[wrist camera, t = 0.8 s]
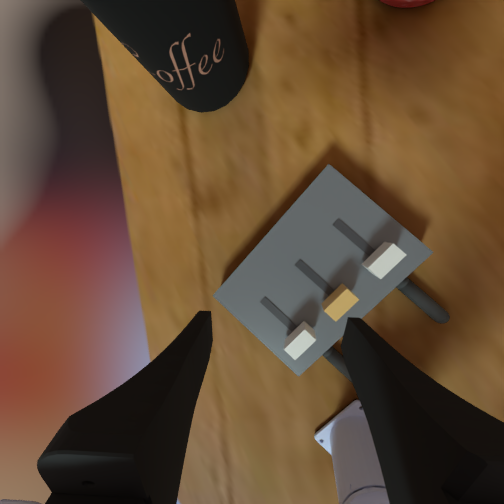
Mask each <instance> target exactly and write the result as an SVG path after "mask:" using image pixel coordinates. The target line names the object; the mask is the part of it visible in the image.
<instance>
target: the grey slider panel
mask: <svg viewBox="0 0 504 504" xmlns="http://www.w3.org/2000/svg"><path fill="white" fill-rule="evenodd" d="M384 242H388V243H393V244H395V245H396V246H397V247H398V248H399V249H401V250H402V251H403V252H404V253H405V254H406V256H405V257H404V258H403V259H402V260H401V261H400V262H399V263H398V264H397V265H396V266H394V267H393V268H392V269H391V270H390V271H389V272H388V273H387V274H386V275H385V276H384V277H383V278H382V279H379V278H378V277H376V276H375V275H373V274H372V273H371V272H370V271H368V270H367V269H366V268H365V267H364V266H363V265H362V263H363V262H364V261H365V260H366V259H367V258H368V257H369V256H370V255H371V254H372V253H373V252H374V251H375V250H376V249H377V248H378V247H379V246H381V245H382V244H383V243H384ZM432 253H433V251H431V250H430V249H429V248H428V247H427V246H425V245H424V244H423V243H422V242H421V241H419V240H418V239H417V238H416V237H415V236H414V235H412V234H411V233H410V232H409V231H408V230H406V229H405V228H404V227H403V226H402V225H401V224H399V223H398V222H397V221H396V220H395V219H393V218H392V217H391V216H390V215H389V214H388V213H386V212H385V211H384V210H383V209H382V208H380V207H379V206H378V205H377V204H376V203H375V202H373V201H372V200H371V199H370V198H369V197H367V196H366V195H365V194H364V193H363V192H362V191H360V190H359V189H358V188H357V187H356V186H354V185H353V184H352V183H351V182H350V181H349V180H347V179H346V178H345V177H344V176H343V175H341V174H340V173H339V172H338V171H337V170H336V169H334V168H333V167H332V166H331V165H330V164H328V165H327V166H326V167H325V169H324V170H323V171H322V172H321V173H320V174H319V175H318V177H317V178H316V179H315V180H314V181H313V182H312V183H311V185H310V186H309V187H308V188H307V189H306V190H305V191H304V192H303V194H302V195H301V196H300V197H299V198H298V199H297V200H296V202H295V203H294V204H293V205H292V206H291V207H290V208H289V210H288V211H287V212H286V213H285V214H284V215H283V216H282V217H281V219H280V220H279V221H278V222H277V223H276V224H275V225H274V227H273V228H272V229H271V230H270V231H269V232H268V233H267V234H266V236H265V237H264V238H263V239H262V240H261V241H260V242H259V244H258V245H257V246H256V247H255V248H254V249H253V250H252V252H251V253H250V254H249V255H248V256H247V257H246V258H245V259H244V261H243V262H242V263H241V264H240V265H239V266H238V267H237V269H236V270H235V271H234V272H233V273H232V274H231V275H230V277H229V278H228V279H227V280H226V281H225V282H224V283H223V284H222V286H221V287H220V288H219V289H218V290H217V291H216V292H215V294H214V295H213V297H214V298H215V299H217V300H218V301H219V302H220V303H221V304H222V305H223V306H224V307H225V308H226V309H227V310H228V311H229V312H230V313H231V314H233V315H234V316H235V317H236V318H237V319H238V320H239V321H240V322H241V323H242V324H243V325H244V326H245V327H246V328H247V329H248V330H250V331H251V332H252V333H253V334H254V335H255V336H256V337H257V338H258V339H259V340H260V341H261V342H262V343H263V344H264V345H266V346H267V347H268V348H269V349H270V350H271V351H272V352H273V353H274V354H275V355H276V356H277V357H278V358H279V359H280V360H281V361H283V362H284V363H285V364H286V365H287V366H288V367H289V368H290V369H291V370H292V371H293V372H294V373H295V374H296V375H297V376H300V375H301V374H302V373H303V372H304V371H305V370H306V369H307V368H308V367H310V366H311V365H312V364H313V363H314V362H315V361H316V360H317V359H318V358H319V357H320V356H321V355H323V354H324V353H325V352H326V351H327V350H328V349H329V348H330V347H331V346H332V345H333V344H334V343H336V342H337V341H338V340H339V339H340V338H341V337H342V336H343V335H344V331H345V327H346V323H347V319H348V317H356V318H361V319H362V318H363V317H364V316H365V315H366V314H367V313H368V312H369V311H370V310H371V309H372V308H374V307H375V306H376V305H377V304H378V303H379V302H380V301H381V300H382V299H383V298H384V297H386V296H387V295H388V294H389V293H390V292H391V291H392V290H393V289H394V288H395V287H396V286H397V285H399V284H400V283H401V282H402V281H403V280H404V279H405V278H406V277H407V276H408V275H409V274H410V273H412V272H413V271H414V270H415V269H416V268H417V267H418V266H419V265H420V264H421V263H422V262H424V261H425V260H426V259H427V258H428V257H429V256H430V255H431V254H432ZM342 283H343V284H344V285H345V286H346V287H347V288H348V289H349V290H351V291H352V292H353V293H354V294H355V295H356V296H357V298H358V299H359V300H358V301H357V302H356V303H355V304H354V305H353V306H352V307H351V308H350V309H349V310H348V311H347V312H346V313H345V314H344V315H343V316H342V317H340V318H339V319H338V320H337V321H334V320H333V319H332V318H331V317H330V316H329V315H328V314H327V313H326V312H324V310H323V307H322V304H321V303H322V302H323V301H325V300H326V299H327V298H328V297H329V296H330V295H331V294H332V293H333V292H334V291H335V290H336V289H337V288H338V287H339V286H340V285H341V284H342ZM303 321H305V322H306V323H307V324H308V325H309V326H310V327H311V328H313V329H314V330H315V335H316V341H315V342H314V343H313V344H312V345H311V346H310V347H309V348H308V349H307V350H306V351H304V352H303V353H302V354H301V355H300V356H299V357H298V358H297V359H296V360H294V359H293V358H292V357H291V356H290V355H289V354H288V353H287V352H286V351H285V350H284V343H285V339H286V338H287V337H288V336H289V335H290V334H291V333H292V332H293V331H294V330H295V329H296V328H297V327H298V326H299V325H300V324H301V323H302V322H303Z"/></svg>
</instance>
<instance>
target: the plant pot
mask: <svg viewBox="0 0 504 504" xmlns="http://www.w3.org/2000/svg"><path fill="white" fill-rule="evenodd" d="M380 1H381V2H383V3H385V4H387V5H390V6H394V7H401V8H410V7H417V6H422V5H425V4H428V3H430V2H433V1H435V0H380Z"/></svg>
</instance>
